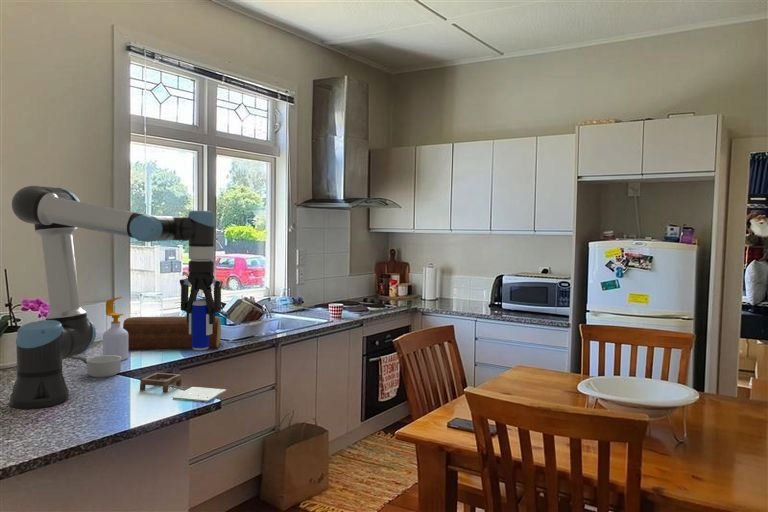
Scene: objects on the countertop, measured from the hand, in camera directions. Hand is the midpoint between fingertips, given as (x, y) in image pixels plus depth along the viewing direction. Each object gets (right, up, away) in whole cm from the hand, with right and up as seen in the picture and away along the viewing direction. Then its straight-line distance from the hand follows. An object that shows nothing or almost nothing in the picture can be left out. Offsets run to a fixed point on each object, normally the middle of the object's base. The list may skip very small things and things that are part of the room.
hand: (200, 333), depth 179 cm
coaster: (-1, -20, +1) cm, 20 cm away
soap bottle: (-48, -16, +45) cm, 68 cm away
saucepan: (-46, -18, +24) cm, 55 cm away
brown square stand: (-16, -19, +8) cm, 26 cm away
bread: (-35, -16, +71) cm, 81 cm away
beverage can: (0, -5, 0) cm, 5 cm away
